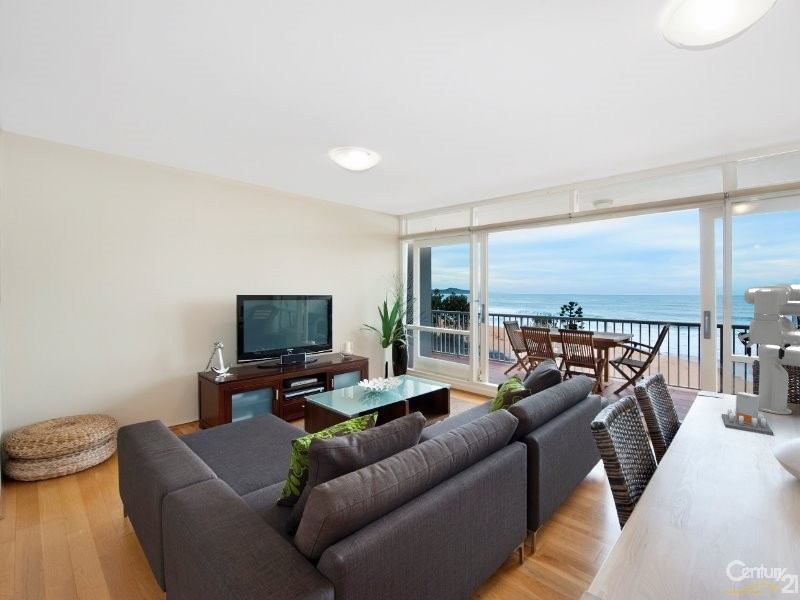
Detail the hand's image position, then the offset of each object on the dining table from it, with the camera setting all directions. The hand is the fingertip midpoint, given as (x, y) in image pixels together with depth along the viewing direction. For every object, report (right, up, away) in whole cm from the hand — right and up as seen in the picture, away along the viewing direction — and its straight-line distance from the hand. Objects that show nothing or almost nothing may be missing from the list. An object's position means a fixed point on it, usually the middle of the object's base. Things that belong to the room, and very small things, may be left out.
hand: (764, 357), depth 161 cm
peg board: (-13, -28, -5) cm, 31 cm away
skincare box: (-13, -27, -5) cm, 30 cm away
